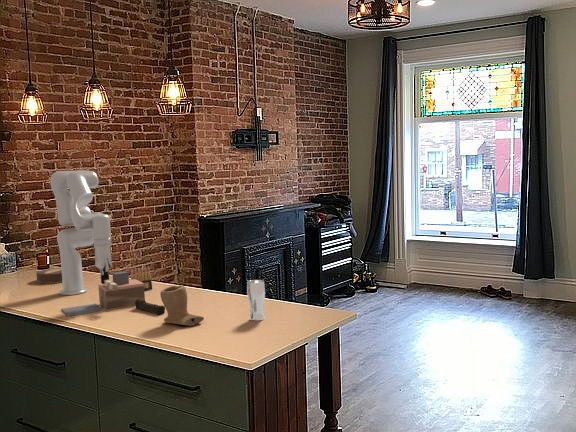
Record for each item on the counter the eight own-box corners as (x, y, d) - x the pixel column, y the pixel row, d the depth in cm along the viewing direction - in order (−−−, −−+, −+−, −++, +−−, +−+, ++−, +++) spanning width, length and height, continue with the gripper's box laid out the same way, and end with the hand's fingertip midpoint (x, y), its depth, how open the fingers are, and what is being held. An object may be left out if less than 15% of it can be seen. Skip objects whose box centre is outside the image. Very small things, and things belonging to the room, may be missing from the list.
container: (53, 276, 359) (53, 265, 358) (83, 277, 352) (82, 267, 351) (28, 284, 340) (27, 272, 339) (58, 285, 333) (58, 274, 332)
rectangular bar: (104, 285, 278) (103, 280, 278) (108, 285, 279) (108, 279, 279) (113, 291, 266) (113, 285, 266) (118, 290, 267) (117, 284, 267)
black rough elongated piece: (165, 314, 263) (165, 303, 262) (157, 316, 260) (157, 305, 260) (141, 307, 276) (140, 297, 276) (133, 309, 273) (132, 298, 273)
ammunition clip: (132, 293, 305) (130, 268, 304) (130, 292, 307) (129, 268, 305) (152, 289, 312) (151, 265, 311) (150, 289, 313) (149, 265, 312)
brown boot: (155, 324, 246) (153, 286, 244) (179, 317, 255) (177, 281, 253) (181, 330, 236) (179, 291, 235) (205, 323, 245) (203, 285, 244)
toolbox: (99, 304, 284) (98, 287, 283) (136, 298, 293) (135, 281, 292) (107, 309, 274) (105, 291, 273) (145, 303, 282) (144, 285, 282)
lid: (98, 289, 283) (97, 273, 282) (135, 283, 292) (134, 268, 291) (106, 293, 273) (104, 277, 272) (144, 288, 282) (143, 272, 281)
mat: (61, 309, 276) (61, 308, 276) (95, 304, 284) (95, 303, 284) (68, 316, 264) (68, 315, 264) (104, 310, 272) (104, 309, 272)
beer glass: (259, 322, 244) (257, 283, 242) (244, 320, 247) (243, 282, 246) (269, 317, 250) (267, 280, 248) (255, 315, 253) (253, 279, 252)
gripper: (89, 241, 283) (92, 282, 285) (98, 245, 270) (101, 287, 272) (106, 240, 287) (109, 279, 288) (115, 243, 274) (118, 284, 276)
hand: (105, 283), depth 280 cm, fingers closed
